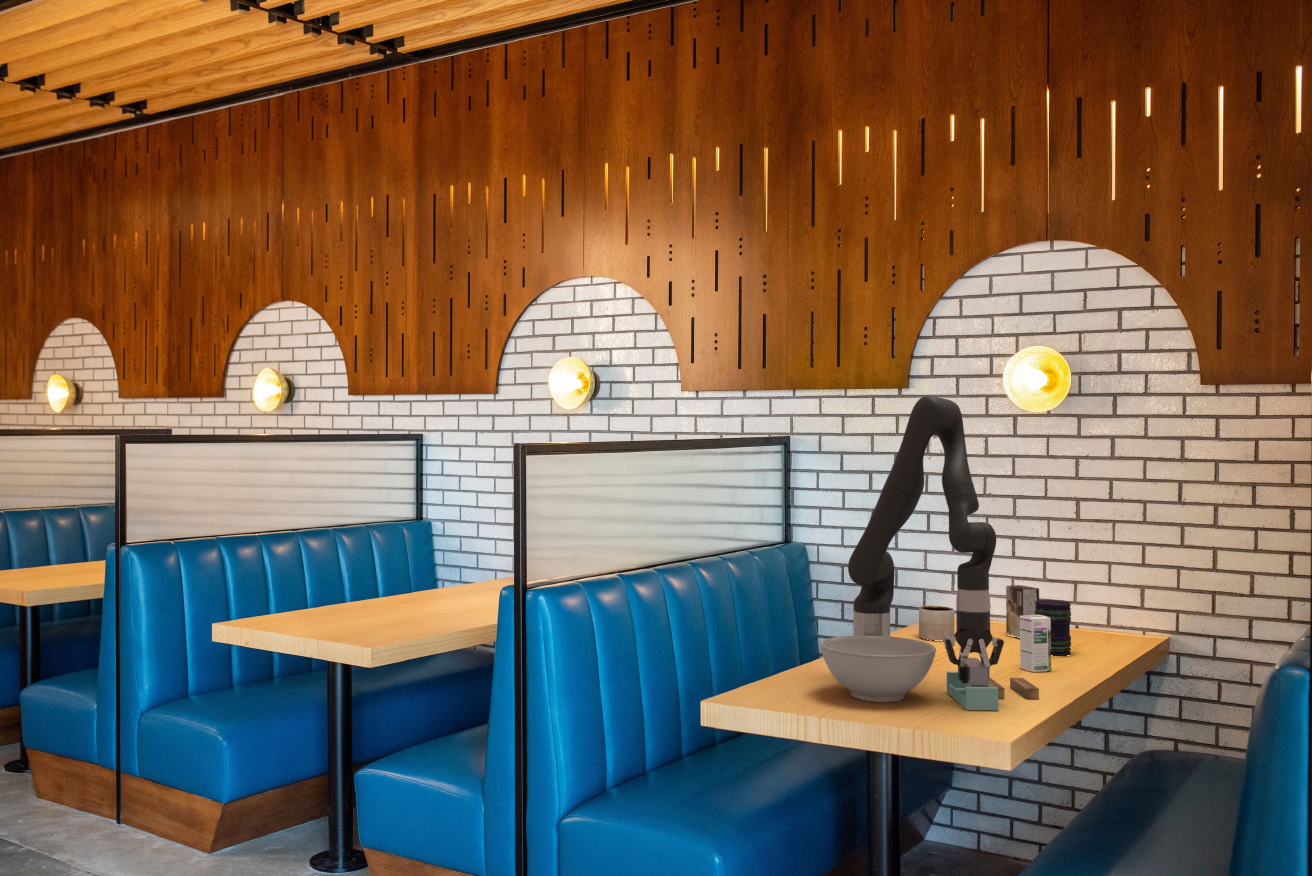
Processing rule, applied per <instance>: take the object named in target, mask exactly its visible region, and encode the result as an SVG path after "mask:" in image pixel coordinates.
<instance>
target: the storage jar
mask: <svg viewBox="0 0 1312 876" xmlns="http://www.w3.org/2000/svg"><path fill="white" fill-rule="evenodd" d="M1035 604H1036V606H1035V609H1036V610H1035V614H1036V615H1044V616H1047V617H1050V620H1051V655H1053V656H1067V655H1070V654H1071V647H1072V636H1071V635H1070V634H1071V632H1070V631H1071V623H1072V612H1071V611H1072V608H1071V605H1072V604H1071V601H1065V600H1056V599H1039V600H1037V601H1035ZM1071 655H1072V654H1071Z"/></svg>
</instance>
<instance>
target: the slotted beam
mask: <svg viewBox="0 0 1312 876" xmlns="http://www.w3.org/2000/svg"><path fill="white" fill-rule="evenodd" d="M989 687H997V688H998V700H1005V699H1006V698H1005V692H1006V691H1005V687H1004V686H1002V685H1001V684H1000V683H998V682H997V681H995V680H994V679H993V678H991V676H989ZM1009 688H1010V689H1011V690H1012V691H1014V692H1016V694H1018V695H1019V696H1021V697H1022V698H1024V699H1025V700H1040V688H1039V687H1038V686H1036V685H1035V684H1032V683H1031V682H1030V681H1028V680H1027V679H1025V678H1024V677H1010V678H1009Z"/></svg>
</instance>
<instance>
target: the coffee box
mask: <svg viewBox="0 0 1312 876" xmlns="http://www.w3.org/2000/svg"><path fill="white" fill-rule="evenodd" d="M1005 591H1006V592H1005V599H1006V600H1005V601H1006V602H1005V605H1006V606H1005V607H1006V609H1005V611H1006V613H1005V615H1006V616H1005V617H1006V623H1005V624H1006V625H1005V626H1006V627H1005V629H1006V633H1005V634H1009V635H1013V636H1017V637H1020V616H1027V615H1036V614H1035V610H1036V609H1035V606H1036V604H1035V601H1037V600H1040V588H1037V587H1034V586H1033V587H1032V586H1027V585H1019V584H1017V585H1006V586H1005Z"/></svg>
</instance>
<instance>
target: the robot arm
mask: <svg viewBox="0 0 1312 876" xmlns="http://www.w3.org/2000/svg"><path fill="white" fill-rule="evenodd" d="M963 420H964V419H963V415H962V411H961V408H960V406H959V405H958V404H957V403H956V402H955V401H953V400H950V399H948V398H947V399H946V398H944V397H939V396H934V395H925V396H923V397H920V398H919V399H918V400H916V402H915V404H914V405H913V407H912V410H911V412H910V414H909V417H908V421H907V424H906V427H905V431H904V435H903V437H902V441H901V444H900V446H899V449H898V451H897V454H896V456H895V458H894V462H893V464H892V467H891V469H890V472H889V473H888V476H887V478H886V481H885V482H884V483H883V487H882V489H881V492H880V495H879V497H878V499H877V501H876V504H875V507H874V509H873V511H872V514H871V516H870V519H869V521H868V523H867V526H866V528H865V530H864V531H863V534H861V537H860V539H859V541H858V543H857V544H856V546H855V548H854V550H853V551H852V553H851V555H850V557H849V560H848V565H847V570H848V571H847V572H848V575H849V578H850V579H851V581H852V582H853V583H855V584H856V585H859V586H861V587H860V591H859V594H858V595H857V596H856V597H855V598H854V600H853V607H852V608H853V619H852V620H853V621H852V623H853V624H852V625H853V632H852V633H853V634H852V636H889V637H891V605H892V603H893V599H894V593H895V590H894V589H895V564H894V560H893V557H892V556H891V554H890V553H889V551H887V549H888V547H889V546H890V543H891V542H892V540H893V538H894V537H895V536H896V534H898V532H899V531H900V530H901V528H902V527H904V526H905V524H906V522H907V521H908V520H909V519H910V518H911V516H912V514H914V511H915V510H916V508H917V506H918V503H919V500H920V499H921V496H922V494H923V491H924V487H925V469H924V459H925V458H924V457H925V453H926V450H927V448H928V445H929V443H930V440H931V438H932V437H933V436H937V438H938V439H939V441H940V443H941V446H942V448H943V454H944V455H943V456H944V462H943V468H942V471H941V472H942V474H941V484H942V485H941V486H942V490H943V493H944V497H945V498H944V499H945V501H946V505H947V509H948V540H949V543H950V544H951V547H952V549H954V550H955V551H956V552H957V553H961V554H971V553H972V555H971V557H970V559H969V560H968V561H966V562H963V563H961V564H959V565H958V567H957V571H956V572H957V574H956V575H957V579H956V581H957V583H956V584H957V587H956V588H957V589H956V590H957V591H956V598H955V599H956V607H955V609H956V611H955V612H956V613H955V614H956V622H955V623H956V627H955V629H956V631H955V635H954V636H953V637H950V638H944V639H943V646H944V648H945V652H946V654H947V657H948V660H949V662H950V663H952V665H954V666H957V672H958V678H959V680H960V681H961V682H962V683H966V667H965V664H966V660H967V658H969V656H970V655H969V654H972V653H977V654H978V656H979V660H980V661H981V662H982V663H983V664H985V665H986V666H987V667H988V668H989V669H990V668H991V666H994V665H997V664H999V661H1000V657H1001V655H1002V651H1003V647H1004V644H1005V641H1004V640H1003V638H999V637H995V636H993V634H992V633H991V608H992V607H991V596H990V573H989V572H990V569H991V565H992V563H993V558H994V555H995V550H996V548H997V547H996V546H997V534H996V531H995V529H994V527H993V526H992V525H991V524H990V523H988V522H984V521H976V522H974V521H973V522H969V520H968V516H970V515H973V514H974V513H976V512H977V511H978V510H979V507H980V503H979V500H978V496H977V493H976V488H975V485H974V482H973V478H972V475H971V472H970V471H971V470H970V467H969V466H970V465H969V460H968V453H967V445H966V438H965V436H966V435H965V427H964V421H963ZM955 643H957V645H959V647H960V648H959V653H958V657H957V656H956V653H955V650H954V647H955V646H956V645H955ZM990 643H991V646H992V647H993V648H992V650H991V654H990V657H989V655H988V652H987V648H988V647H989V645H990Z"/></svg>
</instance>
